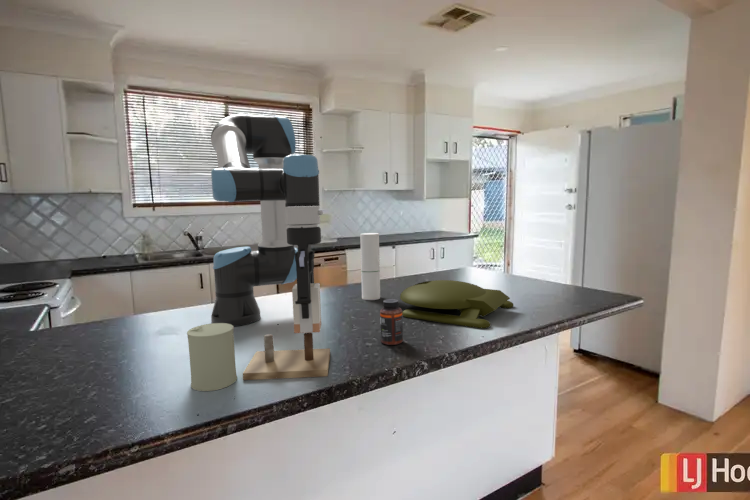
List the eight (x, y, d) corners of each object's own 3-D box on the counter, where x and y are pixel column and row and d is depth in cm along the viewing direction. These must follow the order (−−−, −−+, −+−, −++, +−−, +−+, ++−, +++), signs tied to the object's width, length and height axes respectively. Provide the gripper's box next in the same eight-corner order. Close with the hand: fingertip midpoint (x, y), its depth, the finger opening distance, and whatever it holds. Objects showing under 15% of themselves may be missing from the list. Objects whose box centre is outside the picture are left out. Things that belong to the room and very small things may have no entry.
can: (199, 373, 92) (195, 321, 91) (241, 371, 93) (238, 319, 92) (184, 392, 83) (179, 335, 82) (230, 390, 84) (227, 332, 83)
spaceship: (515, 307, 144) (515, 279, 143) (487, 331, 118) (487, 298, 117) (424, 296, 163) (424, 272, 162) (383, 315, 137) (382, 286, 136)
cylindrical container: (381, 295, 164) (379, 232, 161) (379, 300, 157) (378, 234, 154) (363, 295, 164) (361, 233, 162) (360, 300, 157) (359, 234, 154)
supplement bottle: (405, 339, 112) (405, 298, 111) (399, 346, 106) (398, 303, 105) (384, 337, 114) (383, 297, 113) (377, 344, 108) (376, 302, 107)
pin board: (243, 380, 88) (240, 346, 88) (256, 357, 101) (254, 327, 100) (327, 376, 89) (326, 342, 89) (330, 354, 102) (329, 324, 101)
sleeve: (294, 333, 91) (292, 288, 90) (297, 325, 97) (295, 283, 96) (319, 332, 92) (317, 287, 91) (321, 324, 97) (319, 283, 96)
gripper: (317, 227, 83) (321, 340, 85) (323, 223, 101) (326, 316, 104) (279, 229, 82) (285, 341, 85) (292, 224, 101) (296, 317, 103)
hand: (308, 327), depth 94 cm, fingers closed on sleeve, 6 cm apart
